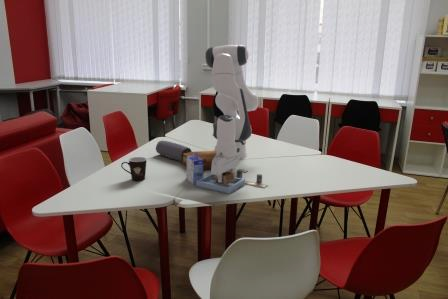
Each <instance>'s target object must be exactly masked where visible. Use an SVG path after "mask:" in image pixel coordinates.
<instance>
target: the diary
mask: <svg viewBox="0 0 448 299" xmlns="http://www.w3.org/2000/svg"><path fill="white" fill-rule="evenodd" d="M196 152H197V153H198V154H199V156H198V155H197V154H196ZM195 154H196V156H198V157H199V158H201V159H202V160H203V171H205V170H206V171H207V170H211V167H212V160H213V159H214V157H215V155H217V154H216V151H214V150H200V151H192V152H183V153H182V159H183V161H181V160H180V161H179V162H180V163H181V164H183V165H184V166H186V167H187V156H194V155H195Z"/></svg>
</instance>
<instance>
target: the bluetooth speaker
mask: <svg viewBox="0 0 448 299" xmlns="http://www.w3.org/2000/svg"><path fill="white" fill-rule="evenodd" d="M156 143H157V144H156V146H155V152H156V153H157V154H158V155H160V156H163V157H166V158H167V157H168V158H167V159H170V158H171V160H173V159H174V161H179V162H180V160H181V161H183V159H182V153H183V152H193V151H192V149H191V148H190V147H188V146H185V145H183V144H180V143H176V142H172V141H167V140H159V141H158V142H156Z"/></svg>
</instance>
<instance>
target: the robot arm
mask: <svg viewBox="0 0 448 299" xmlns="http://www.w3.org/2000/svg"><path fill="white" fill-rule="evenodd" d="M204 60H205V63H206V66H208V67H209V68H210V69H211V70H212V72H211V77H212V78H211V79H212V87H213V89H214V91H215V92H216V93H217V94H216V96H215V104H216V107H217V108H218V109H219V110H220V111H221V112H222V113H223V114H222V115H220V116H219V117H217V118H218V119H217V120H216V121H215V122H213V124H212V127H213V130H212V136H213V137H214V138H215V139H216V140H217V141H216V145H215V146H214V149H213V151H216V154H217V155H215V157H214V159H213V160H212V167H211V169H210V171H211V174H213V175H217V178H218V182H220V183H221V182H223V178H222V177H221V176H222V173H224V172H226V171H229V172H233V173H234V170H235V168H236V167H238V166H239V164H240V160H241V159H245V158H247V156H248V155H247V154H248V153H247V148H246V146H247V145H246V143H247V140H248V139H249V138H250V137H251V136H252V132H253V131H252V130H253V129H252V125H251V122H250V119H249V113H248V112H252V111H256V110H257V109H258V107H259V104H260V99H259V97H258V95H257V93H255V92H254V91H252V90H251V89H250V88H249V87H248V85H247V84H246V81H245V78H244V72H243V66H244V65H246V64H247V63H248V60H249V51H248V49H247V46H246V45H245V44H225V45H219V46H212V47H209V48H207V50H206V51H205V56H204Z"/></svg>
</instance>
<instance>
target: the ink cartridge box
mask: <svg viewBox="0 0 448 299" xmlns="http://www.w3.org/2000/svg"><path fill="white" fill-rule="evenodd" d="M195 152H196V154H197V155H198V156H199V154H198V153H197V152H198V151H195ZM196 154H195V155H194V156H187V166H186V180H187V181H188V182H190V184H192V185H194V186H195V185H196V181H197V180H199V179H202V178H204V170H203V160H202V159H201V158H199V157H198V156H196Z"/></svg>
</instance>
